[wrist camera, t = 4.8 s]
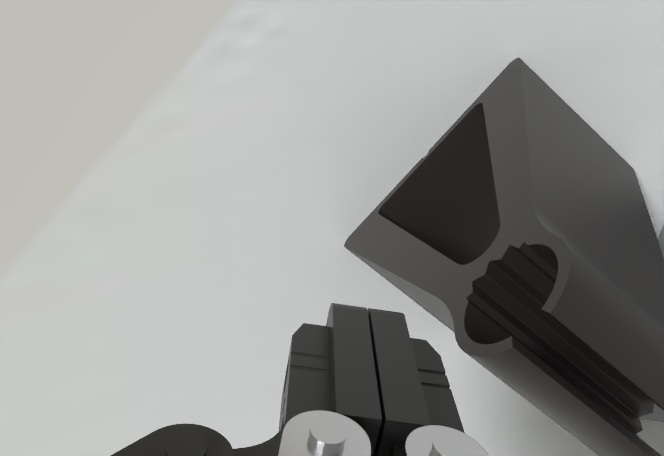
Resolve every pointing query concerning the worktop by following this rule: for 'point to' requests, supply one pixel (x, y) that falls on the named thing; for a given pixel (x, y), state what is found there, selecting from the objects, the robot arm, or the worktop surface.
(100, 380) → the worktop surface
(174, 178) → the worktop surface
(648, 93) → the worktop surface
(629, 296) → the phone stand
